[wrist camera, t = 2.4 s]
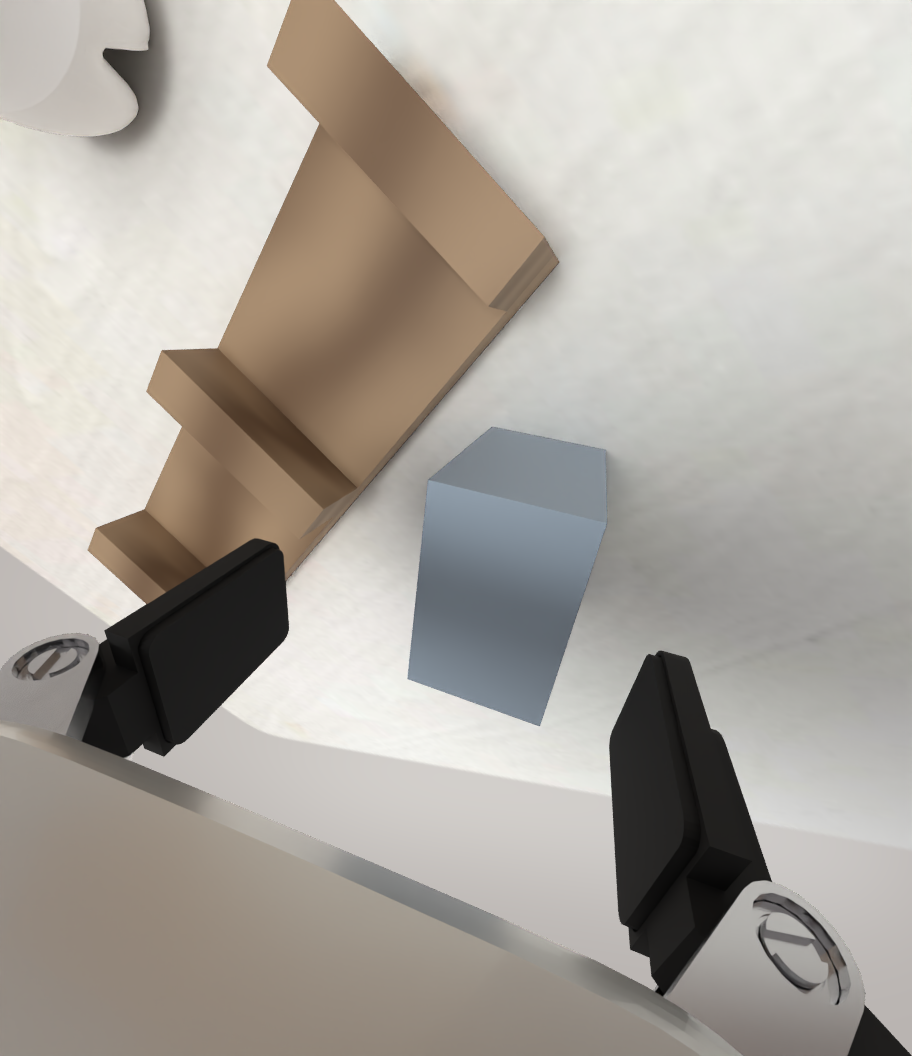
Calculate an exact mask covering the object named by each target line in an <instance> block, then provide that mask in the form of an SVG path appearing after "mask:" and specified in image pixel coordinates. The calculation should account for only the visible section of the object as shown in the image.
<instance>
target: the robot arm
mask: <svg viewBox="0 0 912 1056" xmlns="http://www.w3.org/2000/svg"><path fill="white" fill-rule="evenodd" d="M288 631H289V621H288V608H287V594H286V581H285V567H284V555H283V552H282V551H281V550H280V549H279V546H278V545H277V544H276V543H273V542H269V541H266V540H262V539H258V538H254V539H251V540H250V541H248V542H246V543H245V544H243V545H242V546H240V547H238V548H237V549H235V550H234V551H232V552H230V553H229V554H227V555H225V556H224V557H222V558H221V559H219V560H217V561H216V562H214V563H213V564H211V565H209V566H208V567H206V568H205V569H203V570H201V571H200V572H198V573H196V574H195V575H193V576H192V577H190V578H188V579H187V580H185V581H184V582H182V583H180V584H179V585H177V586H175V587H174V588H172V589H171V590H169V591H167V592H166V593H164V594H163V595H161V596H159V597H158V598H156V599H155V600H153V601H151V602H150V603H148V604H146V605H145V606H143V607H142V608H140V609H138V610H137V611H135V612H134V613H132V614H130V615H129V616H127V617H126V618H124V619H122V620H121V621H119V622H117V623H116V624H114V625H113V626H111V627H110V628H108V629H106V630H105V634H106V637H107V640H105V641H104V642H102V643H101V644H99V643H98V641H97V640H96V638H94V637H92V636H90V635H88V634H81V633H71V634H62V635H57V636H53V637H49V638H46V639H43V640H41V641H38V642H35V643H33V644H31V645H29V646H27V647H25V648H23V649H22V650H20V651H19V652H17V653H16V654H15V655H13V656H12V657H11V658H10V659H9V660H8V661H7V662H6V663H5V664H4V665H3V667H2V668H1V670H0V1056H911V1054H910V1053H909V1052H908V1051H907V1050H906V1049H905V1048H904V1047H903V1046H902V1045H901V1044H900V1043H899V1041H898V1040H897V1039H896V1038H895V1037H894V1036H893V1035H892V1034H891V1033H890V1032H889V1031H888V1030H887V1028H886V1027H884V1025H883V1024H882V1023H881V1022H880V1021H879V1020H878V1019H877V1018H876V1017H875V1015H874V1014H873V1013H872V1012H871V1011H870V1010H869V1009H868V1008H867V1007H866V1006H865V1005H864V1003H865V990H864V985H863V982H862V977H861V973H860V971H859V969H858V967H857V964H856V962H855V960H854V958H853V956H852V954H851V952H850V950H849V948H848V947H847V946H846V944H845V943H844V941H843V940H842V938H841V937H840V936H839V934H838V933H837V931H836V930H835V928H834V927H833V926H832V925H831V924H830V923H829V922H828V921H827V920H826V919H825V918H824V916H823V915H822V914H821V913H820V912H819V911H818V910H817V909H816V908H815V907H813V906H812V905H811V904H809V902H807V901H806V900H805V899H804V898H802V897H801V896H800V895H799V894H797V893H795V892H793V891H791V890H790V889H788V888H786V887H784V886H782V885H780V884H776V883H773V882H772V880H771V878H770V875H769V872H768V869H767V866H766V863H765V860H764V857H763V854H762V851H761V848H760V845H759V842H758V839H757V836H756V833H755V830H754V827H753V824H752V821H751V818H750V815H749V812H748V809H747V806H746V803H745V800H744V797H743V794H742V792H741V789H740V786H739V783H738V780H737V777H736V774H735V771H734V768H733V765H732V762H731V759H730V756H729V753H728V750H727V747H726V744H725V742H724V739H723V737H722V735H721V734H720V733H719V732H718V731H716V730H713V729H711V728H710V725H709V722H708V718H707V715H706V712H705V709H704V706H703V702H702V699H701V696H700V693H699V690H698V687H697V683H696V680H695V677H694V674H693V671H692V667H691V664H690V662H689V660H688V659H687V658H686V657H682V656H679V655H675V654H672V653H668V652H664V651H658V652H657V653H656V655H655V656H654V655H651V654H648V655H647V656H646V658H645V660H644V662H643V665H642V667H641V669H640V671H639V673H638V676H637V678H636V680H635V682H634V684H633V687H632V689H631V691H630V693H629V695H628V697H627V700H626V702H625V704H624V706H623V708H622V711H621V713H620V715H619V717H618V719H617V722H616V724H615V726H614V728H613V730H612V733H611V737H610V744H609V751H610V770H611V788H612V804H613V805H612V806H613V824H614V842H615V860H616V879H617V895H618V896H617V897H618V912H619V918H620V922H621V923H622V924H623V925H625V926H627V927H629V940H630V949H631V950H633V951H635V952H638V953H640V954H642V955H645V956H647V957H649V958H650V966H651V976H652V977H653V979H654V980H655V982H656V983H657V986H656V987H655V989H654V990H651V989H649V988H648V987H646V986H644V985H642V984H640V983H638V982H636V981H634V980H632V979H630V978H628V977H626V976H624V975H622V974H620V973H619V972H617V971H615V970H612V969H611V968H609V967H607V966H605V965H603V964H601V963H599V962H597V961H595V960H593V959H591V958H588V957H586V956H584V955H582V954H579V953H577V952H575V951H573V950H571V949H569V948H566V947H564V946H562V945H560V944H558V943H555V942H553V941H551V940H549V939H546V938H544V937H542V936H540V935H538V934H535V933H533V932H531V931H529V930H527V929H524V928H522V927H520V926H518V925H515V924H513V923H511V922H509V921H507V920H504V919H502V918H500V917H498V916H495V915H493V914H491V913H488V912H486V911H484V910H481V909H479V908H477V907H474V906H472V905H469V904H467V903H465V902H463V901H460V900H458V899H456V898H453V897H451V896H449V895H446V894H444V893H442V892H440V891H437V890H435V889H432V888H430V887H428V886H425V885H423V884H421V883H419V882H416V881H414V880H412V879H409V878H407V877H405V876H402V875H400V874H398V873H395V872H393V871H390V870H388V869H386V868H384V867H381V866H379V865H377V864H374V863H372V862H370V861H367V860H365V859H363V858H360V857H358V856H355V855H353V854H351V853H349V852H346V851H344V850H341V849H339V848H337V847H334V846H332V845H330V844H327V843H325V842H323V841H320V840H318V839H316V838H313V837H311V836H309V835H306V834H304V833H301V832H299V831H297V830H294V829H292V828H290V827H287V826H285V825H283V824H280V823H278V822H275V821H273V820H271V819H268V818H266V817H263V816H261V815H259V814H256V813H254V812H252V811H249V810H247V809H244V808H242V807H240V806H237V805H235V804H233V803H230V802H228V801H226V800H223V799H220V798H218V797H216V796H214V795H211V794H209V793H206V792H204V791H201V790H199V789H197V788H194V787H192V786H190V785H187V784H185V783H182V782H180V781H178V780H175V779H173V778H170V777H168V776H166V775H163V774H161V773H158V772H156V771H154V770H151V769H149V768H146V767H144V766H141V765H139V764H137V763H134V762H132V758H133V754H134V751H135V750H136V749H138V748H139V747H140V746H141V745H142V744H143V746H144V748H145V749H147V750H149V751H152V752H154V753H156V754H159V755H161V756H165V755H166V754H167V753H168V752H169V751H170V750H171V749H172V748H173V747H174V746H175V745H176V744H181V743H183V742H185V741H186V740H187V739H188V738H189V737H190V736H191V735H192V734H193V733H194V732H195V731H196V730H197V729H198V728H199V727H200V726H201V725H202V724H203V723H204V722H205V721H206V720H207V719H208V718H209V717H210V716H211V715H212V714H213V713H214V712H215V710H217V708H219V707H220V706H221V705H222V704H223V703H224V701H225V700H226V699H227V698H228V697H229V696H230V695H231V694H232V693H233V692H234V691H235V690H236V689H237V688H238V687H239V686H240V685H241V684H242V683H243V682H244V681H245V680H246V679H247V678H248V677H249V676H250V675H251V674H252V673H253V672H254V671H255V670H256V669H257V668H258V667H259V666H260V665H261V664H262V663H263V662H264V661H265V660H266V659H267V658H268V657H269V656H270V654H271V653H272V652H273V651H274V650H275V649H276V648H277V647H278V646H279V645H280V644H281V643H282V642H283V641H284V640H285V638H286V637H287V634H288Z"/></svg>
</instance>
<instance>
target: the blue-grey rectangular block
mask: <svg viewBox="0 0 912 1056" xmlns="http://www.w3.org/2000/svg"><path fill="white" fill-rule="evenodd" d="M606 525H607V492H606V450H603V449H599V448H594V447H589V446H584V445H579V444H574V443H569V442H564V441H559V440H554V439H550V438H545V437H540V436H535V435H530V434H525V433H520V432H515V431H510V430H505V429H500V428H496V427H491V428H490V429H489V430H488V431H486V432H485V433H484V434H483V435H482V436H480V437H479V438H478V439H477V440H476V441H474V442H473V443H472V444H471V445H470V446H468V447H467V448H466V449H465V450H464V451H462V452H461V453H460V454H459V455H458V456H456V457H455V458H454V459H453V460H451V461H450V462H449V463H448V464H447V465H445V466H444V467H443V468H442V469H441V470H439V471H438V472H437V473H436V474H435V475H433V476H432V477H431V478H430V479H429V480H428V486H427V495H426V505H425V515H424V524H423V534H422V544H421V553H420V563H419V573H418V582H417V592H416V602H415V611H414V621H413V630H412V640H411V650H410V659H409V669H408V679H409V680H412V681H415V682H417V683H420V684H423V685H426V686H429V687H431V688H434V689H437V690H440V691H443V692H445V693H448V694H451V695H454V696H457V697H459V698H462V699H465V700H468V701H470V702H473V703H476V704H479V705H482V706H484V707H487V708H490V709H493V710H496V711H498V712H501V713H504V714H507V715H510V716H512V717H515V718H518V719H521V720H523V721H526V722H529V723H532V724H535V725H537V726H540V724H541V721H542V718H543V715H544V712H545V709H546V706H547V703H548V700H549V697H550V694H551V691H552V688H553V685H554V682H555V679H556V676H557V673H558V670H559V667H560V664H561V661H562V658H563V655H564V652H565V649H566V646H567V643H568V640H569V637H570V634H571V631H572V628H573V625H574V622H575V619H576V616H577V613H578V610H579V607H580V604H581V601H582V598H583V595H584V592H585V589H586V586H587V583H588V580H589V577H590V574H591V570H592V567H593V564H594V561H595V558H596V555H597V552H598V549H599V546H600V543H601V540H602V537H603V534H604V531H605V528H606Z"/></svg>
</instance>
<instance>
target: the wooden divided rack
mask: <svg viewBox="0 0 912 1056" xmlns="http://www.w3.org/2000/svg"><path fill="white" fill-rule="evenodd" d="M267 67H268V68H269V69H270V70H271V71H272V72H273V73H274V74H275V75H276V77H277V78H278V79H279V80H280V81H281V82H282V83H283V84H284V85H285V86H286V87H287V89H288V90H289V91H290V92H291V93H292V94H293V95H294V96H295V97H296V98H297V99H298V100H299V102H300V103H301V104H302V105H303V106H304V107H305V108H306V109H307V110H308V111H309V112H310V114H311V115H312V116H313V117H314V118H315V119H316V120H317V121H318V122H319V126H318V128H317V130H316V132H315V135H314V137H313V139H312V141H311V143H310V146H309V148H308V150H307V152H306V154H305V157H304V159H303V161H302V163H301V165H300V168H299V170H298V172H297V174H296V176H295V179H294V181H293V183H292V185H291V187H290V190H289V192H288V194H287V196H286V199H285V201H284V203H283V205H282V207H281V210H280V212H279V214H278V216H277V218H276V221H275V223H274V225H273V227H272V229H271V232H270V234H269V236H268V238H267V240H266V243H265V245H264V247H263V249H262V251H261V254H260V256H259V258H258V260H257V263H256V265H255V267H254V269H253V271H252V274H251V276H250V278H249V280H248V282H247V285H246V287H245V289H244V291H243V293H242V296H241V298H240V300H239V302H238V304H237V307H236V309H235V311H234V313H233V315H232V318H231V320H230V322H229V324H228V326H227V329H226V331H225V333H224V335H223V338H222V340H221V342H220V344H219V346H218V348H216V349H187V350H162V351H161V353H160V356H159V359H158V362H157V364H156V367H155V370H154V372H153V375H152V378H151V381H150V383H149V386H148V389H147V391H146V392H147V393H148V394H149V395H150V396H151V397H152V398H153V399H154V400H155V401H156V402H157V403H158V404H160V405H161V406H162V407H163V408H164V409H165V410H166V411H167V412H168V413H169V414H170V415H171V416H172V417H173V418H174V419H175V420H176V421H177V422H178V423H179V424H180V425H181V426H182V428H181V430H180V432H179V435H178V437H177V439H176V441H175V443H174V446H173V448H172V450H171V452H170V454H169V457H168V459H167V461H166V463H165V465H164V468H163V470H162V472H161V474H160V477H159V479H158V481H157V483H156V485H155V488H154V490H153V492H152V494H151V496H150V499H149V501H148V503H147V505H146V507H145V509H144V510H142V511H139V512H136V513H134V514H131V515H129V516H126V517H123V518H121V519H118V520H115V521H113V522H110V523H108V524H105V525H102V526H100V527H97V528H96V529H95V532H94V535H93V537H92V540H91V543H90V545H89V548H88V551H89V552H90V553H91V554H92V555H93V556H94V557H95V558H97V559H98V560H99V561H100V562H101V563H102V564H103V565H104V566H105V567H106V568H108V569H109V570H110V571H111V572H112V573H113V574H114V575H115V576H116V577H117V578H118V579H120V580H121V581H122V582H123V583H124V584H125V585H126V586H127V587H128V588H129V589H131V590H132V591H133V592H134V593H135V594H136V595H137V596H138V597H139V598H140V599H142V600H143V601H144V602H145V603H146V604H148V603H150V602H151V601H153V600H155V599H156V598H158V597H159V596H161V595H163V594H164V593H166V592H167V591H169V590H171V589H172V588H174V587H175V586H177V585H179V584H180V583H182V582H184V581H185V580H187V579H188V578H190V577H192V576H193V575H195V574H196V573H198V572H200V571H201V570H203V569H205V568H206V567H208V566H209V565H211V564H213V563H214V562H216V561H217V560H219V559H221V558H222V557H224V556H225V555H227V554H229V553H230V552H232V551H234V550H235V549H237V548H238V547H240V546H242V545H243V544H245V543H246V542H248V541H250V540H251V539H254V538H258V539H262V540H266V541H269V542H273V543H276V544H277V545H278V546H279V549H280V550H281V551H282V552H283V555H284V567H285V581H286V580H287V579H288V578H289V577H290V576H291V574H292V573H293V572H294V571H295V570H296V569H297V567H298V566H299V565H300V564H301V563H302V562H303V560H304V559H305V558H306V557H307V556H308V555H309V553H310V552H311V551H312V550H313V549H314V548H315V546H316V545H317V544H318V543H319V542H320V541H321V539H322V538H323V537H324V536H325V535H326V534H327V532H328V531H329V530H330V529H331V528H332V527H333V525H334V524H335V523H336V522H337V521H338V520H339V518H340V517H341V516H342V515H343V514H344V513H345V511H346V510H347V509H348V508H349V507H350V506H351V504H352V503H353V502H354V501H355V500H356V499H357V497H358V496H359V495H360V494H361V493H362V492H363V490H364V489H365V488H366V487H367V486H368V485H369V483H370V482H371V481H372V480H373V479H374V478H375V476H376V475H377V474H378V473H379V472H380V471H381V469H382V468H383V467H384V466H385V465H386V464H387V462H388V461H389V460H390V459H391V458H392V457H393V455H394V454H395V453H396V452H397V451H398V450H399V448H400V447H401V446H402V445H403V444H404V443H405V441H406V440H407V439H408V438H409V437H410V436H411V434H412V433H413V432H414V431H415V430H416V429H417V427H418V426H419V425H420V424H421V423H422V422H423V420H424V419H425V418H426V417H427V416H428V415H429V413H430V412H431V411H432V410H433V409H434V408H435V406H436V405H437V404H438V403H439V402H440V401H441V399H442V398H443V397H444V396H445V395H446V394H447V392H448V391H449V390H450V389H451V388H452V387H453V385H454V384H455V383H456V382H457V381H458V380H459V378H460V377H461V376H462V375H463V374H464V373H465V371H466V370H467V369H468V368H469V367H470V366H471V364H472V363H473V362H474V361H475V360H476V359H477V357H478V356H479V355H480V354H481V353H482V352H483V350H484V349H485V348H486V347H487V346H488V345H489V343H490V342H491V341H492V340H493V339H494V338H495V336H496V335H497V334H498V333H499V332H500V331H501V329H502V328H503V327H504V326H505V325H506V324H507V322H508V321H509V320H510V319H511V318H512V317H513V315H514V314H515V313H516V312H517V311H518V310H519V308H520V307H521V306H522V305H523V304H524V303H525V301H526V300H527V299H528V298H529V297H530V296H531V294H532V293H533V292H534V291H535V290H536V289H537V287H538V286H539V285H540V284H541V283H542V282H543V281H544V279H545V278H546V277H547V276H548V275H549V274H550V272H551V271H552V270H553V269H554V268H555V267H556V265H557V264H558V263H559V261H558V259H557V257H556V256H555V254H554V252H553V251H552V249H551V247H550V246H549V244H548V242H547V241H546V239H545V237H544V236H543V235H542V234H541V233H540V231H539V230H538V229H537V228H536V227H535V226H534V225H533V224H532V222H531V221H530V220H529V219H528V218H527V217H526V216H525V215H524V213H523V212H522V211H521V210H520V209H519V208H518V207H517V206H516V204H515V203H514V202H513V201H512V200H511V199H510V198H509V197H508V195H507V194H506V193H505V192H504V191H503V190H502V189H501V188H500V186H499V185H498V184H497V183H496V182H495V181H494V180H493V179H492V177H491V176H490V175H489V174H488V173H487V172H486V171H485V170H484V168H483V167H482V166H481V165H480V164H479V163H478V162H477V161H476V159H475V158H474V157H473V156H472V155H471V154H470V153H469V152H468V150H467V149H466V148H465V147H464V146H463V145H462V144H461V142H460V141H459V140H458V139H457V138H456V137H455V136H454V135H453V133H452V132H451V131H450V130H449V129H448V128H447V127H446V126H445V124H444V123H443V122H442V121H441V120H440V119H439V118H438V117H437V115H436V114H435V113H434V112H433V111H432V110H431V109H430V108H429V106H428V105H427V104H426V103H425V102H424V101H423V100H422V99H421V97H420V96H419V95H418V94H417V93H416V92H415V91H414V90H413V88H412V87H411V86H410V85H409V84H408V83H407V82H406V81H405V79H404V78H403V77H402V76H401V75H400V74H399V73H398V72H397V70H396V69H395V68H394V67H393V66H392V65H391V64H390V63H389V61H388V60H387V59H386V58H385V57H384V56H383V55H382V54H381V52H380V51H379V50H378V49H377V48H376V47H375V46H374V45H373V43H372V42H371V41H370V40H369V39H368V38H367V37H366V36H365V34H364V33H363V32H362V31H361V30H360V29H359V28H358V27H357V25H356V24H355V23H354V22H353V21H352V20H351V19H350V17H349V16H348V15H347V14H346V13H345V12H344V11H343V10H342V8H341V7H340V6H339V5H338V4H337V3H336V2H335V1H334V0H291V2H290V5H289V7H288V10H287V13H286V15H285V18H284V21H283V24H282V26H281V29H280V32H279V34H278V37H277V40H276V43H275V45H274V48H273V51H272V53H271V56H270V59H269V61H268V64H267Z"/></svg>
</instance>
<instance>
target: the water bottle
mask: <svg viewBox="0 0 912 1056" xmlns="http://www.w3.org/2000/svg"><path fill="white" fill-rule="evenodd" d="M149 35H150V27H149V22H148V16H147V11H146V7H145V3H144V0H0V118H1V119H4V120H7V121H9V122H12V123H15V124H17V125H20V126H23V127H27V128H31V129H34V130H39V131H43V132H48V133H53V134H59V135H68V136H76V137H89V136H100V135H106V134H111V133H114V132H117V131H120V130H122V129H123V128H124V127H126V126H127V125H129V124H130V123H131V122H132V121H133V119H134V118H135V117H136V116H137V112H138V109H139V107H138V103H137V99H136V96H135V94H134V93H133V91H132V90H131V88H130V87H129V85H128V84H127V83H126V82H125V81H124V80H123V78H122V77H121V76H120V75H119V74H118V73H117V72H116V71H115V70H114V69H113V68H112V66H111V65H110V64H109V63H108V62H107V61H106V60H105V59H104V58H103V51H104V49H105V48H110V49H125V50H133V51H143V50H148V41H149Z"/></svg>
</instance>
